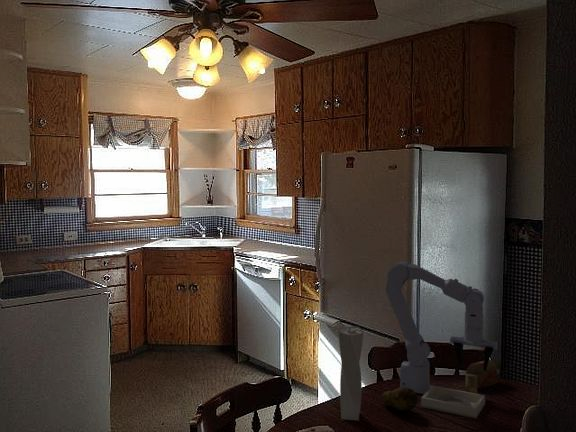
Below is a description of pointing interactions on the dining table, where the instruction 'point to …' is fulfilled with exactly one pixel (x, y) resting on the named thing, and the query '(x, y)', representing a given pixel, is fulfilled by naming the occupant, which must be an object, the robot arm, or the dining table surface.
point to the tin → (485, 373)
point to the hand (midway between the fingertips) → (473, 367)
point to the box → (453, 401)
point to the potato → (400, 399)
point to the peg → (471, 383)
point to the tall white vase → (350, 372)
